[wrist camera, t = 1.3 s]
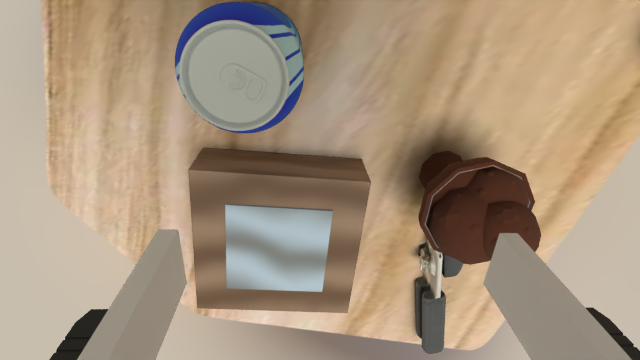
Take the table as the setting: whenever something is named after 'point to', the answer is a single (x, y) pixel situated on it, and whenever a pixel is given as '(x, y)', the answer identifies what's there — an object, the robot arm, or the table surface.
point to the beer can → (240, 66)
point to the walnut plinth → (276, 229)
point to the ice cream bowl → (474, 206)
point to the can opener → (432, 296)
